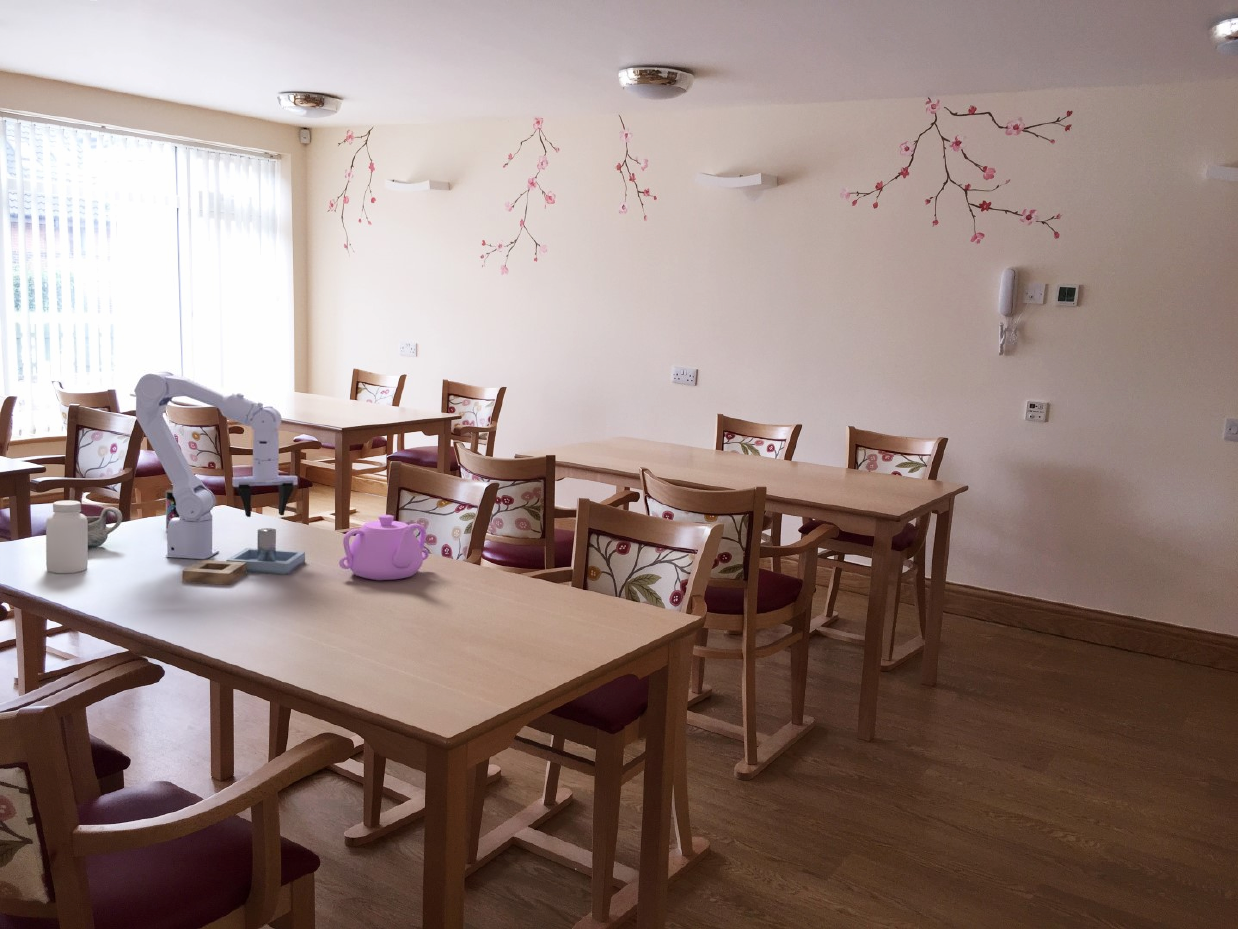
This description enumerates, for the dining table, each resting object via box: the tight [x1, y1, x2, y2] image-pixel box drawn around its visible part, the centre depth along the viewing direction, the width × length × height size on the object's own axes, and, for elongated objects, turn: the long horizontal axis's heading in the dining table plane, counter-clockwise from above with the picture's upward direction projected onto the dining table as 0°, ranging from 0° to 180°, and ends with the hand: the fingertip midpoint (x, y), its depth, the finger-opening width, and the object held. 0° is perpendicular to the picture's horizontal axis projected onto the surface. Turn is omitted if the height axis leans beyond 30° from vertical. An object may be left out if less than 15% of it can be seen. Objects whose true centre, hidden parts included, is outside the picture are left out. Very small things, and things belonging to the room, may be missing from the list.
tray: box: [225, 547, 306, 576], centre depth 232 cm, size 14×12×2 cm
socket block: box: [181, 559, 247, 586], centre depth 220 cm, size 10×10×2 cm
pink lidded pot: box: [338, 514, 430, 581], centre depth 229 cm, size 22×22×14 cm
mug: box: [86, 506, 123, 550], centre depth 238 cm, size 10×12×10 cm
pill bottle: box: [45, 499, 89, 574], centre depth 218 cm, size 8×8×15 cm
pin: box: [256, 527, 277, 562], centre depth 231 cm, size 4×4×8 cm
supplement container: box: [165, 488, 180, 530], centre depth 262 cm, size 7×7×10 cm
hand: (264, 515), depth 238 cm, fingers open, 7 cm apart
